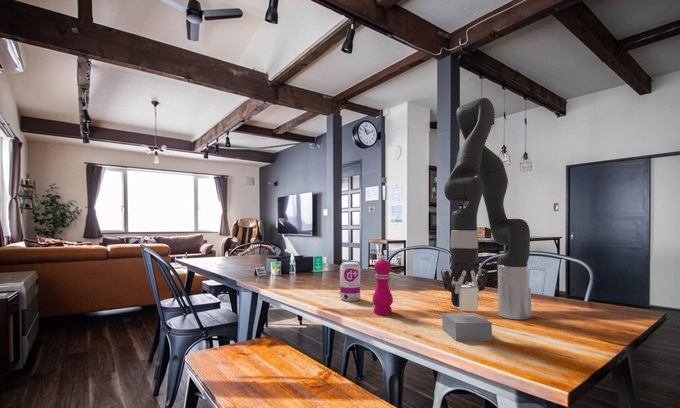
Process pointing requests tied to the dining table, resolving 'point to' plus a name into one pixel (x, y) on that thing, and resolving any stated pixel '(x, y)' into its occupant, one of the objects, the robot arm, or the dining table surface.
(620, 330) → the dining table surface
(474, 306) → the cream block
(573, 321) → the dining table surface
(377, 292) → the pepper mill
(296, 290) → the dining table surface
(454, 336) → the slate base
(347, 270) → the supplement can
